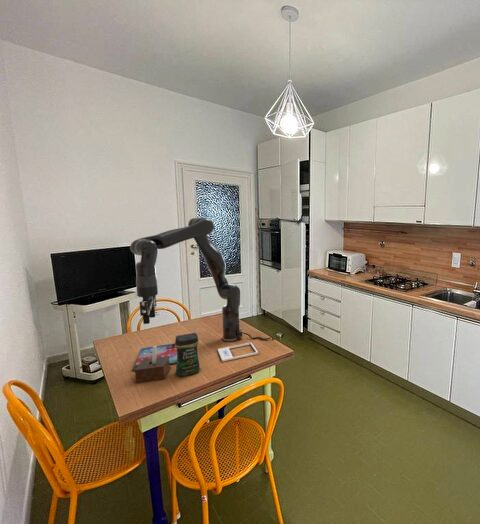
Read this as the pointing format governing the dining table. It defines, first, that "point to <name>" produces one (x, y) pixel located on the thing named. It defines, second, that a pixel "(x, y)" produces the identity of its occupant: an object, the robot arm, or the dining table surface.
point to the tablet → (158, 353)
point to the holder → (152, 369)
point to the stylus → (154, 354)
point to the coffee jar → (187, 354)
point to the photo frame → (227, 355)
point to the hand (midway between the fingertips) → (149, 320)
